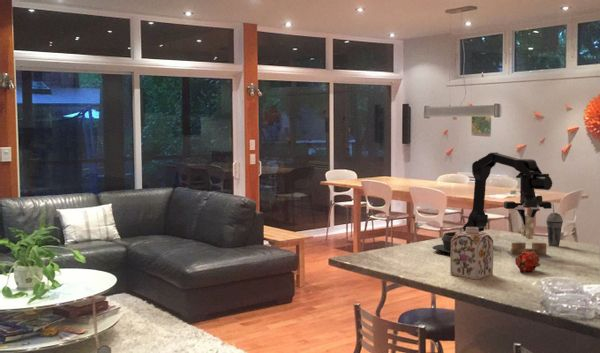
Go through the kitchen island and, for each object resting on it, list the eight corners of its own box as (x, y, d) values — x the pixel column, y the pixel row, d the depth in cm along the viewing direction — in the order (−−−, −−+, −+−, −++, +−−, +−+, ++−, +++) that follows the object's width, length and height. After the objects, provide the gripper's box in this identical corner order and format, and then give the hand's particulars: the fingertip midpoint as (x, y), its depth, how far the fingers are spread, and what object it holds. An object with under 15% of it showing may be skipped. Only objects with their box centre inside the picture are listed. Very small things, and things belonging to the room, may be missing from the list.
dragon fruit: (535, 272, 244) (523, 282, 236) (518, 257, 248) (505, 267, 239) (548, 257, 240) (535, 267, 231) (529, 242, 243) (517, 251, 235)
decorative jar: (449, 275, 234) (449, 227, 233) (465, 270, 242) (466, 224, 241) (478, 280, 226) (478, 231, 224) (494, 275, 234) (495, 227, 232)
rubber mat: (512, 258, 263) (512, 257, 263) (506, 252, 276) (506, 251, 276) (552, 259, 261) (552, 258, 261) (543, 253, 274) (543, 251, 274)
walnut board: (512, 254, 268) (512, 243, 268) (511, 253, 270) (511, 242, 270) (546, 255, 267) (546, 243, 266) (544, 254, 269) (545, 242, 268)
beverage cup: (565, 247, 287) (567, 203, 286) (553, 248, 285) (554, 204, 283) (554, 244, 294) (555, 202, 292) (541, 245, 291) (543, 202, 290)
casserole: (426, 254, 273) (426, 235, 273) (440, 247, 289) (441, 229, 288) (483, 260, 260) (483, 240, 259) (495, 252, 275) (495, 233, 275)
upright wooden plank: (528, 239, 263) (528, 217, 263) (521, 234, 275) (521, 214, 275) (533, 239, 263) (533, 217, 263) (526, 234, 275) (526, 214, 275)
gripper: (509, 190, 261) (509, 227, 262) (555, 190, 259) (555, 227, 260) (503, 188, 272) (503, 224, 273) (547, 188, 270) (547, 223, 271)
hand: (527, 224), depth 269 cm, fingers closed on upright wooden plank, 2 cm apart
